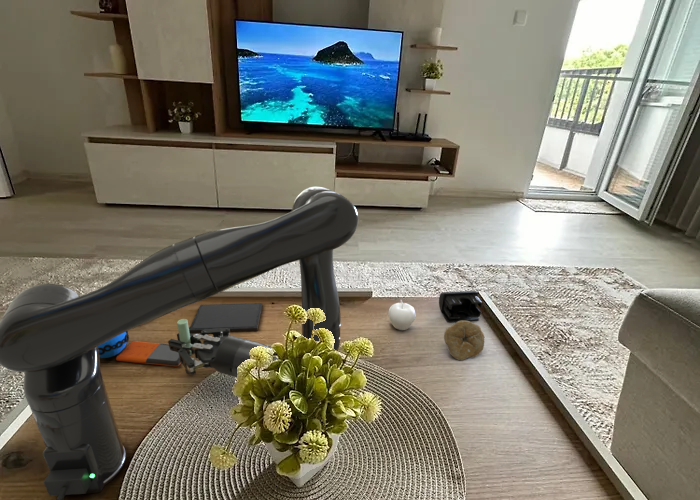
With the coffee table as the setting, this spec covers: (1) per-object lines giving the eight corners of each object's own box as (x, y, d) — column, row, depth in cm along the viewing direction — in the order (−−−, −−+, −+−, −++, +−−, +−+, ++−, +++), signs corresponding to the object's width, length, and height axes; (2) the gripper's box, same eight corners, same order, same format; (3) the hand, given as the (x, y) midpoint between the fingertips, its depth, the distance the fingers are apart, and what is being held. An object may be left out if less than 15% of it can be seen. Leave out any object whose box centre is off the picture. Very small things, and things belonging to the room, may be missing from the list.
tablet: (257, 331, 102) (257, 327, 101) (189, 333, 100) (188, 329, 100) (262, 305, 113) (262, 302, 112) (201, 307, 111) (200, 304, 111)
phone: (131, 339, 95) (191, 345, 94) (133, 344, 96) (192, 349, 94) (114, 357, 89) (177, 363, 88) (115, 361, 90) (178, 368, 88)
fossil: (439, 328, 95) (474, 314, 97) (434, 332, 99) (468, 318, 101) (456, 364, 92) (492, 348, 94) (450, 366, 96) (485, 351, 98)
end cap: (470, 307, 115) (473, 286, 112) (480, 320, 109) (485, 299, 106) (437, 308, 114) (440, 288, 111) (446, 323, 107) (449, 301, 104)
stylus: (194, 374, 86) (185, 324, 81) (184, 374, 86) (175, 324, 80) (196, 367, 88) (188, 318, 82) (187, 368, 87) (178, 318, 82)
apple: (393, 315, 110) (395, 290, 106) (417, 323, 107) (420, 297, 103) (383, 328, 104) (385, 302, 101) (408, 337, 101) (411, 310, 98)
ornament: (83, 368, 88) (71, 331, 83) (97, 344, 95) (87, 309, 91) (125, 364, 89) (116, 327, 85) (136, 341, 97) (128, 306, 93)
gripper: (261, 324, 84) (193, 308, 89) (222, 366, 72) (146, 344, 77) (263, 353, 87) (197, 336, 92) (226, 397, 75) (152, 375, 80)
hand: (174, 340), depth 84 cm, fingers closed on stylus, 2 cm apart
